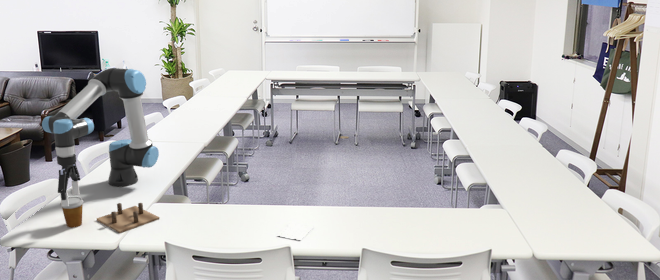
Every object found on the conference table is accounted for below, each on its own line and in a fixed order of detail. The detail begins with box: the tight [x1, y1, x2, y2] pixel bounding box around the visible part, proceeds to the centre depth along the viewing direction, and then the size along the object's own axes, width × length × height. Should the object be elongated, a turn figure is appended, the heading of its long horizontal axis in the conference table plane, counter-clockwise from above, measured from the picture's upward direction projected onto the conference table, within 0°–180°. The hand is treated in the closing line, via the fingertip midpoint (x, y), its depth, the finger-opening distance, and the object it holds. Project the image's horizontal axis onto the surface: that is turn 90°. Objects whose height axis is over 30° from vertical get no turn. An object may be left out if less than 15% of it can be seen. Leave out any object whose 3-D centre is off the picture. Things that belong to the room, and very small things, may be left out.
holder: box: [96, 202, 160, 234], centre depth 254 cm, size 20×20×6 cm
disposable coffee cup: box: [59, 196, 84, 229], centre depth 247 cm, size 10×10×12 cm
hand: (70, 200), depth 245 cm, fingers open, 13 cm apart
